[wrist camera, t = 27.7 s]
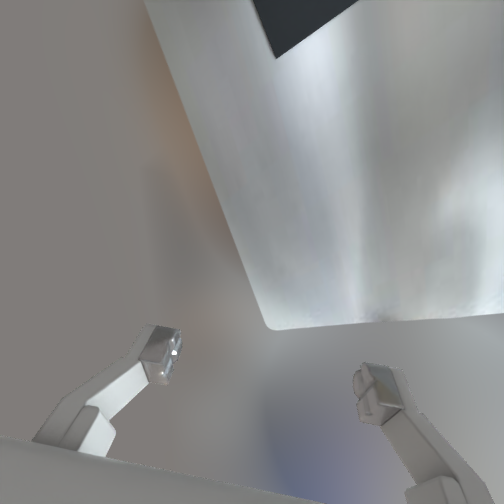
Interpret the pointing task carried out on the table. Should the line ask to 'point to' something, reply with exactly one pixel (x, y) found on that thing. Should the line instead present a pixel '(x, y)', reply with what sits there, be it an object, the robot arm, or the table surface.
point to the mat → (296, 19)
